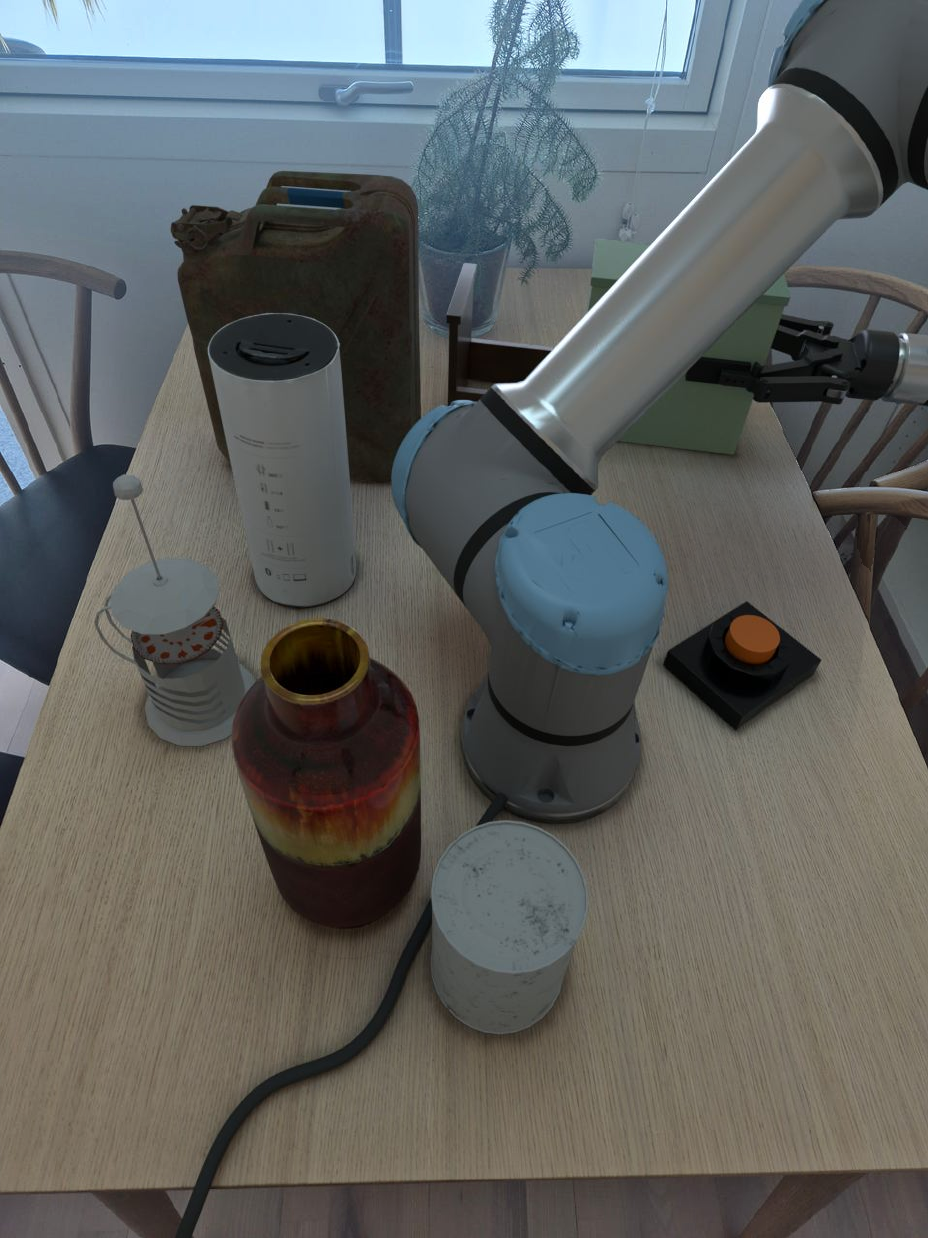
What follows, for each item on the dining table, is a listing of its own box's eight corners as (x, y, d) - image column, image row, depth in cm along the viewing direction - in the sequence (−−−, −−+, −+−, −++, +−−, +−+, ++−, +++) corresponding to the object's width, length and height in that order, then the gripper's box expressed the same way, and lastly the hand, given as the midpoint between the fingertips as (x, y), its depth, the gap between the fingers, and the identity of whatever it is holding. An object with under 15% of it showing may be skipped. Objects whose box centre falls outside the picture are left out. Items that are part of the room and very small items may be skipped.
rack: (563, 385, 108) (579, 274, 97) (556, 442, 100) (572, 328, 89) (460, 373, 109) (463, 262, 98) (444, 429, 101) (446, 314, 90)
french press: (234, 755, 70) (163, 538, 51) (105, 732, 71) (-11, 511, 52) (273, 666, 76) (222, 443, 57) (154, 646, 77) (66, 421, 58)
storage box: (730, 411, 106) (781, 256, 91) (735, 456, 100) (790, 297, 84) (572, 393, 107) (595, 237, 92) (567, 436, 101) (591, 276, 86)
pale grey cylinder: (446, 1050, 55) (450, 991, 46) (418, 913, 61) (416, 836, 52) (581, 1016, 57) (611, 952, 48) (541, 885, 63) (560, 807, 54)
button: (751, 672, 73) (757, 659, 72) (714, 640, 75) (719, 628, 74) (784, 650, 75) (790, 637, 73) (746, 620, 77) (752, 607, 76)
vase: (389, 786, 68) (374, 561, 49) (445, 905, 62) (453, 700, 42) (258, 838, 65) (185, 618, 45) (303, 970, 58) (240, 779, 39)
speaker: (376, 555, 86) (361, 323, 67) (328, 623, 80) (297, 389, 60) (287, 527, 89) (248, 295, 69) (234, 591, 82) (174, 355, 63)
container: (423, 437, 100) (421, 173, 77) (412, 490, 93) (407, 218, 71) (239, 422, 101) (185, 156, 78) (216, 474, 94) (149, 199, 72)
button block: (735, 730, 73) (748, 704, 70) (662, 665, 78) (672, 637, 75) (813, 674, 78) (829, 647, 75) (740, 615, 82) (752, 587, 79)
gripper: (892, 452, 89) (681, 427, 91) (858, 347, 103) (677, 327, 105) (923, 391, 83) (698, 367, 85) (883, 289, 98) (692, 270, 99)
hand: (687, 345), depth 95 cm, fingers closed on storage box, 9 cm apart
